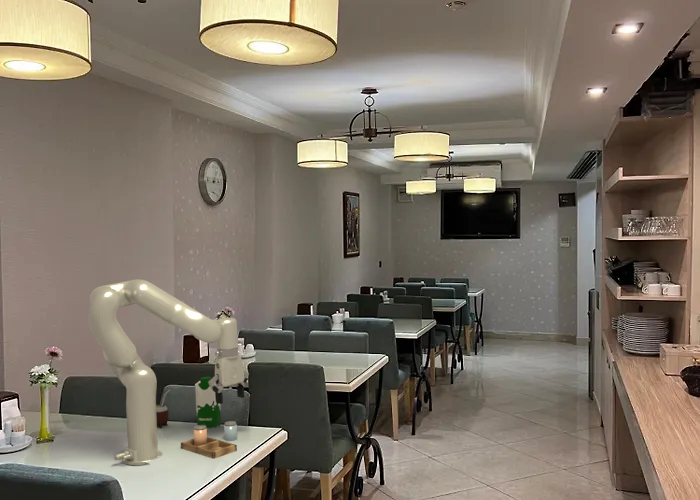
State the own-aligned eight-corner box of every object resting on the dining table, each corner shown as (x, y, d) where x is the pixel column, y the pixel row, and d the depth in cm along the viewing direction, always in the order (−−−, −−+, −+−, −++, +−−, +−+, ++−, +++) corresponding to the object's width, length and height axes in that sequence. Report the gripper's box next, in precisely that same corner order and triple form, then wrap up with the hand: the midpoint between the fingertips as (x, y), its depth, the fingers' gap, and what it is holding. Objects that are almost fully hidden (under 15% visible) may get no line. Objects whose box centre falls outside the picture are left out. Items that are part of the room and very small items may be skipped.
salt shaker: (230, 445, 233) (229, 425, 233) (222, 443, 236) (221, 423, 236) (239, 442, 236) (239, 422, 236) (232, 439, 239) (231, 420, 239)
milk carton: (194, 431, 252) (192, 379, 251) (202, 424, 261) (200, 374, 260) (217, 431, 251) (214, 378, 250) (223, 424, 260) (221, 373, 259)
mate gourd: (149, 425, 262) (147, 388, 261) (169, 422, 265) (167, 385, 265) (151, 430, 255) (150, 391, 255) (172, 427, 258) (171, 389, 258)
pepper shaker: (199, 450, 225) (198, 429, 225) (191, 447, 228) (190, 426, 227) (209, 446, 228) (209, 426, 228) (202, 444, 231) (201, 424, 231)
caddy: (213, 462, 215) (213, 452, 215) (181, 451, 227) (180, 442, 227) (237, 454, 222) (236, 444, 222) (204, 444, 235) (203, 435, 235)
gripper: (214, 357, 226) (217, 407, 227) (253, 349, 239) (255, 396, 240) (201, 356, 231) (204, 404, 232) (239, 348, 244) (242, 393, 245)
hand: (230, 400), depth 236 cm, fingers open, 9 cm apart
